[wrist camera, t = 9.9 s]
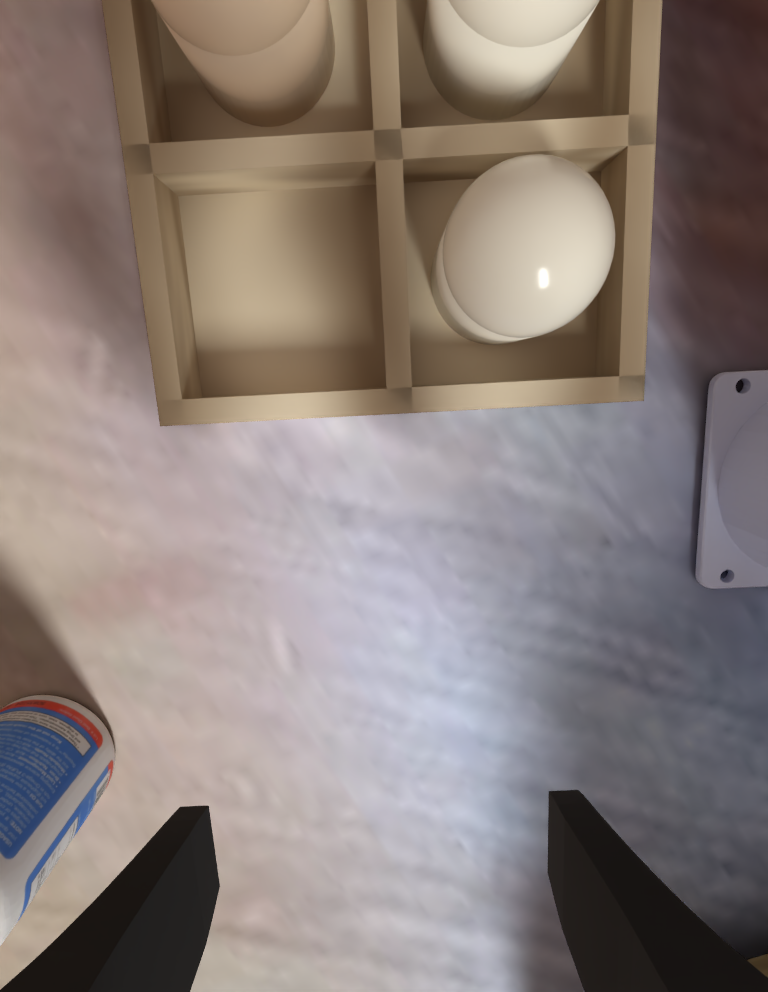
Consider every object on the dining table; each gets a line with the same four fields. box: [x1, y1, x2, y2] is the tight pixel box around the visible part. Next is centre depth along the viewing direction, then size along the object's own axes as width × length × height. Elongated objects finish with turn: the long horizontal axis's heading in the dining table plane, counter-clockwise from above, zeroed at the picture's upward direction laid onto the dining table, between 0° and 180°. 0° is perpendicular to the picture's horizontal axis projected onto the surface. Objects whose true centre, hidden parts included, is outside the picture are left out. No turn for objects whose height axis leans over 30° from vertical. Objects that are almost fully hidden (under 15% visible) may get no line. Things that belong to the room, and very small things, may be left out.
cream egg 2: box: [431, 154, 615, 345], centre depth 15 cm, size 4×4×6 cm
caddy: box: [102, 0, 662, 426], centre depth 17 cm, size 15×15×2 cm
